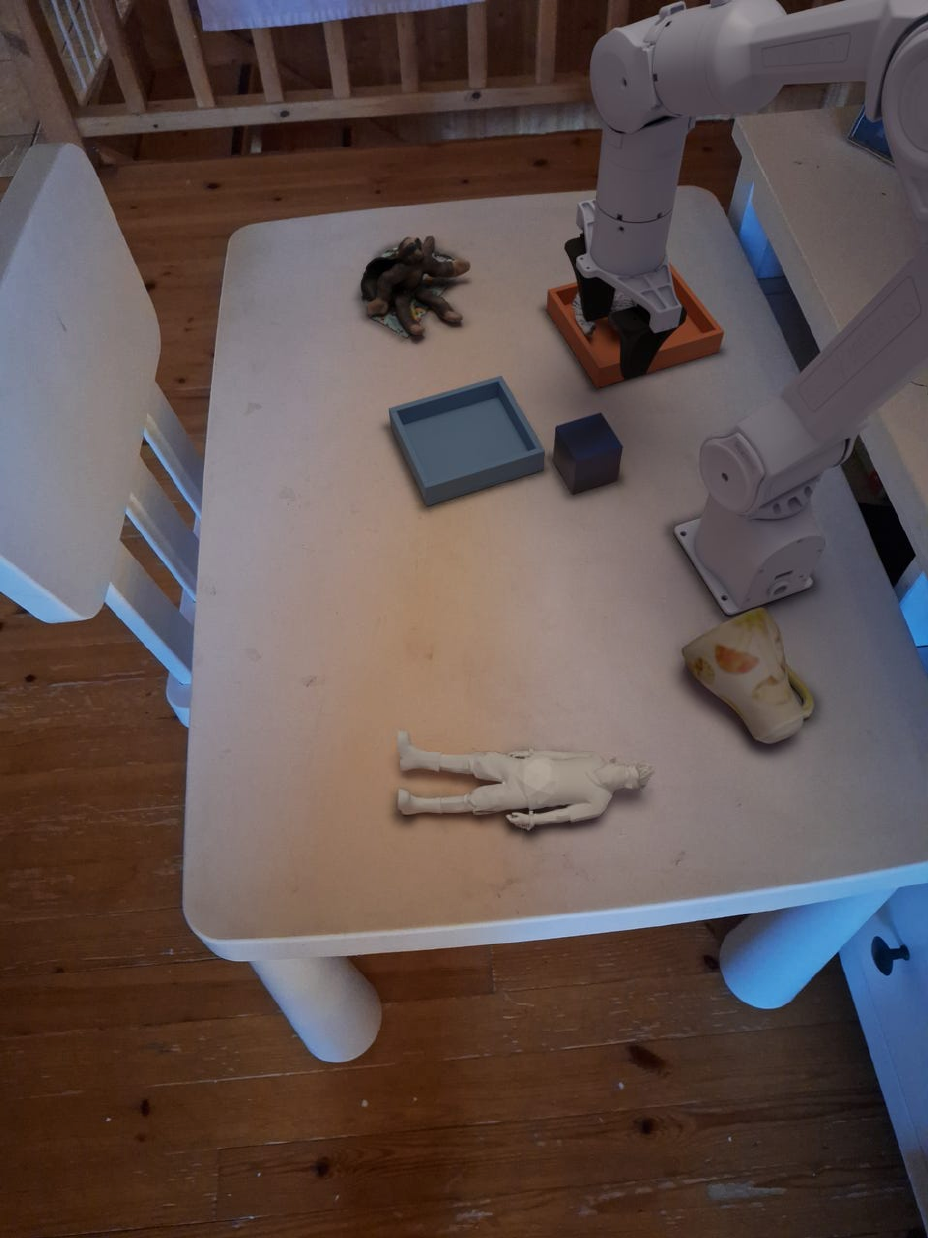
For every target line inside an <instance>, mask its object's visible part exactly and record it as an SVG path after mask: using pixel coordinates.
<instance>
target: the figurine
mask: <svg viewBox="0 0 928 1238" xmlns="http://www.w3.org/2000/svg"><path fill="white" fill-rule="evenodd" d="M396 738H397V739H396V742H397V744H396V745H397V753H398V755H399V756H400V759H399V764H400V771H405V772H406V771H410V770H416V769H420V768H421V769H426V770H432V771H435V772H438V773H439V772H440V770H442V771H446V772H450V773H454V774H455V773H456V774H465V775H473V774H474V776H475V777H474V778H477V779H479V780H485V781H493V782H498V783H495V784H490V785H483V786H479V787H476V788H475V789H473V790H472V792H471V793H469V792H467V793H464V794H462V795H453V796H445V797H443V796H442V795H440V796H436V797H421V796H420V797H419V796H415V795H412V794H411V793H410V791H408V790H406V789H402V788H398V793H397V794H398V795H397V808H398V810H400V811H401V814H402V815H407V816H409V815H414V814H415V815H416V814H421V813H434V814H441V815H442V814H443V813H447V814H448V813H455V814H457V813H458V814H460V813H467V812H472V813H473V815H475V816H479V815H480V816H481V815H489V814H496V813H501V812H502V811H505V810H523V809H527V808H528V810H529V811H528V814H525V813H522V812H511V814H506V815H505V817H506V819H507V820H508V821H509V823H512V824H514V825H515V826H516V827H519V828H521V829H526V830H527V831H530V830H531V829H532V828H534V826H535V825H544V824H557V823H558V824H559V823H565V822H568V821H570V823H576V822H579V821H585V820H590V819H594V818H598V817H600V816H601V815H603V813H604V812H605V810H606V809H607V808H608V805H609V804H610V803H609V802H610V801H611V800H612V798H613V796H614V792H615V791H617V790H620V789H621V790H622V789H623V788H624V789H629V790H630V789H631V790H632V789H637V790H638V791H640V790H643V789H645V788H646V787H647V786H648V784H649V783H650V781H651V780H650V779H651V778H653V775H654V774H655V773H656V769H654V767H653V766H651V765H649V764H648V762H646V761H644V760H643V761H638V762H637V764H632V765H631V764H628V765H626V764H625V763H615V762H606V760H605V758H604V757H603V756H602V755H601V754H600V753H599V752H596V751H587V750H583V751H566V752H565V751H557V750H533V748H532V747H529V748H528V750H523V751H522V750H519V751H517V750H516V751H512V752H509V753H508V754H507V755H506V754H504V753H501V752H499V751H494V750H493V751H491V750H476V751H474V752H470V753H466V754H455V753H454V754H453V753H451V754H449V753H442V751H441V750H440V751H429V750H427V751H426V750H422V749H420V748H418V747H417V746H415V745H414V744H413V742H412V741H411V735H410V733H409V731H407V730H403V729H398V733H397V737H396ZM566 805H567V806H566ZM556 806H566V807H563V808H556V809H554V810H551V811H547V812H542V813H534V811H533V810H538V809H539V810H540V809H544V808H545V807H546V808H553V807H554V808H555V807H556Z"/></svg>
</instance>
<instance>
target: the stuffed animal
mask: <svg viewBox="0 0 928 1238" xmlns="http://www.w3.org/2000/svg"><path fill="white" fill-rule="evenodd" d="M435 243H436V240H435V237H434V235H426V237H425V238H424V241H423V242H422V241H421V239H420V238H419V237H417V236H415V237H412V236H406V237H405V238H404V239H402V241H401V242H400V243H399V244H398V246H397V247H392V248H390V249H387V250H386V251H385V252H384V253H382V254H381V256H377V257H375V258H373V259H372V260H371V261H369V262H368V264H367V265H366V266H365V271H364V272H363V274H362V278H361V281H360V291H361V294H362V296H361V299H362V301H363V302H364V305H365V310H366V314H367V316H368V317H369V318H370V319H372V320H373V321H376V322H378V323H380V324H382V325H385V326H388V327H389V328H390V329H391V330H393V331H395V332H397V334H400V332H402V334H401V336H403V337H404V338H409V335H413V336H420V335H422V334H423V333H424V332H425V331H426V329H425V327H424V326H423V325H420V323H419V322H420V321H421V320H422V316H423V315H426V314H427V312H428V311H429V310H430V309H431V308H432V309H434V310H435V312H436V313H437V315H438V316H439V318H441V319H442V320H445V321H447V322H449V323H450V322H451V323H457V322H460V321H462V320H463V319H464V316H463V315H462V314H461V313H457V312H455V310H454V309H453V308H452V307H451V305H450V304H449V302H448V301H446V300H445V298H444V297H443V296H440V295H442V293H444V290H445V289H446V288H447V287H448V285H449V284H450V283H451V281H452V280H453V278H458V277H460V276H461V275H462V276H463V275H464V274H466V273H467V272H469V271H470V270H471V263H470V261H469V260H468V259H466V258H457V259H454V258H452V257H451V256H450V255H448V254H445V253H440V252H439V251H438V250H435ZM416 308H417V309H416Z"/></svg>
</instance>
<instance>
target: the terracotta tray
mask: <svg viewBox="0 0 928 1238" xmlns="http://www.w3.org/2000/svg"><path fill="white" fill-rule="evenodd" d="M669 265H670V270H671V276H672V281H673V286H674V291H675V294H676V297H677V299H678V300H679V301H680V302H681V304H682V305H683V306H684V308H685V309H686V311H687V316H686V321H685V322H684V323H683V324H682V325H681V326H680V327H679V328H677V329H676V330H675V331H674V332H673V333H672V334H671V335H670V336H669V337H668V338H667V340H666V341H665V342H664V343H663V345H662V346H661V347H660V349H659V350H658V352H657V354H656V355H655V357H654V359H653V361H652V363H651V365H650V367H649V368H648V370H647V372H646V374H649V373H653V372H656V371H659V370H663V369H666V368H670V367H673V366H676V365H679V364H682V363H686V362H690V361H693V360H697V359H699V358H703V357H706V356H710V355H713V354H716V353H719V352H720V350H721V346H722V342H723V338H724V335H725V330H724V329H723V328H722V327H721V326H720V324H719V323H718V322H717V320H716V319H715V318H714V316H713V315H712V314H711V313H710V311H708V309H707V308H706V307H705V305H704V304H703V303H702V301H701V300H700V299H699V298H698V297H697V295H696V294H695V292H693V290H692V289H691V288H690V287H689V285H688V284H687V283H686V282H685V280H684V279H683V278H682V277H681V275H680V274H679V272H678V271H677V270H676V268H675V267H674V266H673V265H672V264H671V262H670V261H669ZM578 292H579V290H578V284H577V281H575V282H571V283H568V284H567V283H566V284H564V285H560V286H556V287H553V288H548V289H547V294H546V296H547V297H546V298H547V299H546V311H547V313H548V315H549V316H550V317H551V319H552V321H553V322H554V324H555V326H556V327H557V328H558V330H559V331H560V333H561V335H562V336H563V338H564V339H565V341H566V342H567V344H568V345H569V347H570V349H571V350H572V352H573V353H574V355H575V356H576V358H577V359H578V361H579V363H580V364H581V365H582V368H583V369H584V370H585V372H586V373H587V375H588V376H589V378H590V379H591V381H592V383H593V384H594V386H595V387H596V388H597V389H599V388H602V387H603V388H604V387H606V386H610V385H612V384H617V383H620V382H623V381H626V380H625V379H624V378H623V377H622V375H621V372H620V341H619V335H618V331H617V330H613V329H612V328H611V327H610V325H609V322H608V317H605V318H602V319H598V320H595V321H592V322H594V323H595V324H597V325H596V327H597V328H596V329H595V330H594V331H593V336H587V335H584V333H583V332H582V330H581V328H580V326H579V325H578V323H577V321H576V318H575V314H574V309H573V306H572V302H573V301H574V299H575V296H576V295H577V294H578Z"/></svg>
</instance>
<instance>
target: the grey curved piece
mask: <svg viewBox="0 0 928 1238" xmlns="http://www.w3.org/2000/svg"><path fill="white" fill-rule="evenodd" d="M572 306H573V309H574V314H575V318H576V321H577V323H578V325H579V326H580V328H581V330H582V332H583V333H584V335H587V336H593V331H594V330H595V329H596V328H597V327H596V325H597V324H595V323H594V322H592V321H591V322H586V321H585V319H584V317H583V313H582V308H581V302H580V296H579V292H578V294H577V295H576V296H575V299H574V301H573V302H572ZM636 306H637V303H636V302H635V301H633V300H632V299H630V298H629V297H627V296H626V295H624V294H623V293H621V292H620V291H618V290H617V289H616V290H615V294H614V299H613V303H612V307H611V310H610V312H609V315H608V322H609V325H610V327H611V328H612V329H613V330H617V328H616V325H615V323H614V321H613V319H612V317H611V316H612V312H616V311H619V310H623V309H627V308H630V307H636Z"/></svg>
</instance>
